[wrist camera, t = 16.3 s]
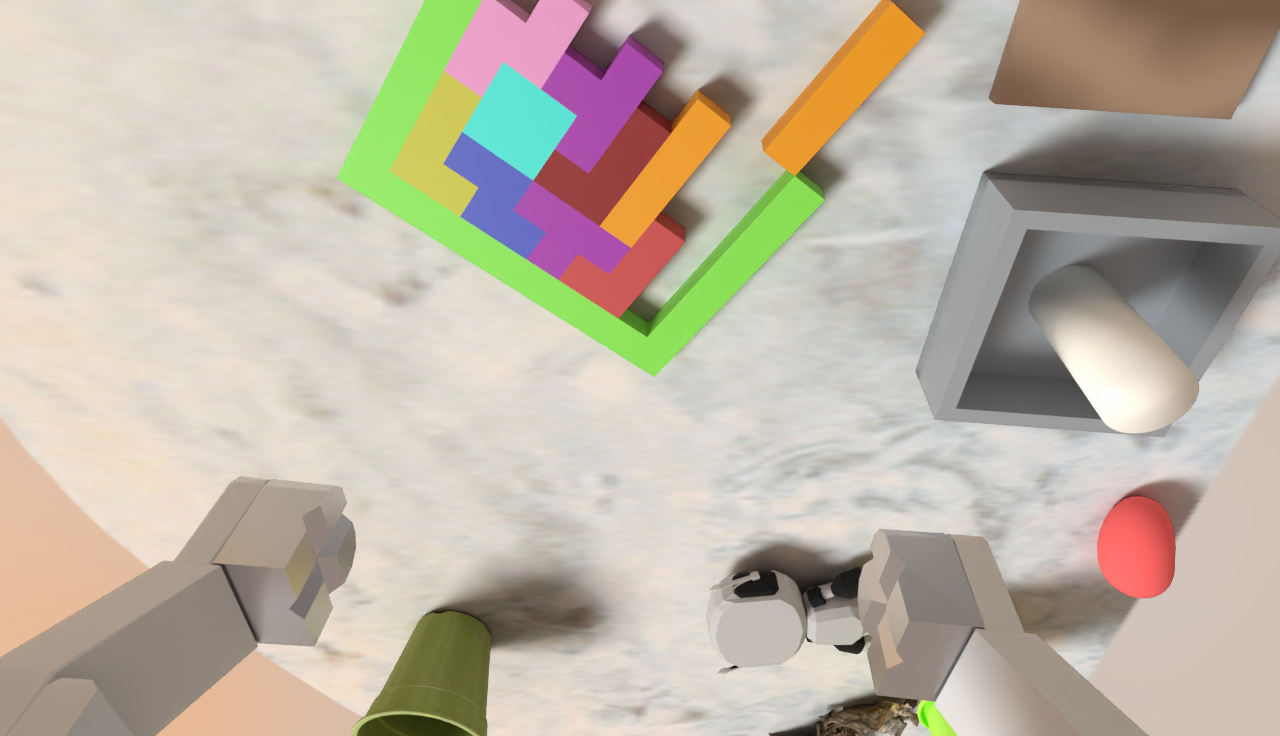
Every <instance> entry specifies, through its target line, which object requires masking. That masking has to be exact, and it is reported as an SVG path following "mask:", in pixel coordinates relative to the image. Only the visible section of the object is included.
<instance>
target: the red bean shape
mask: <svg viewBox="0 0 1280 736" xmlns="http://www.w3.org/2000/svg"><path fill="white" fill-rule="evenodd" d="M1097 549H1098V562H1099V565H1100V568H1101V570H1102V573H1103V575H1104V577H1105V578H1106V580H1107V581H1108V582H1109V583H1110V584H1111V585H1112V586H1113V587H1115V588H1116V589H1118V590H1119V591H1120V592H1122V593H1124V594H1126V595H1128V596H1131V597H1136V598H1151V597H1155V596H1157V595H1160V594H1161V593H1163V592H1164V591H1166V589H1167V588H1168V587H1169V586H1170V584H1171V582H1172V580H1173V577H1174V571H1175V550H1176V547H1175V536H1174V530H1173V526H1172V523H1171V520H1170V518H1169V515H1168V513H1167V511H1166V510H1165V509H1164V508H1163V507H1162V506H1161V505H1160V504H1159V503H1157V502H1156V501H1154V500H1152V499H1150V498H1146V497H1142V496H1133V497H1129V498H1125V499H1124V500H1122V501H1121V502H1120V503H1118V504H1117V505H1116V506H1115V507H1114V508H1113V509H1112V510H1111V511H1110V512H1109V514H1108V515H1107V517H1106V519H1105V520H1104V522H1103V525H1102V527H1101V529H1100V532H1099V538H1098V546H1097Z"/></svg>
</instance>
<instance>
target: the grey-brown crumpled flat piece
mask: <svg viewBox="0 0 1280 736" xmlns="http://www.w3.org/2000/svg"><path fill="white" fill-rule="evenodd" d="M917 702H918V700H915V699H906V701H905V702H904V705H903V704H902V705H899V704H898V703H897V702H896V703H895V702H891V701H885V700H883V701H881V702H879V703H878V704H877V705H870V706H867V705H856V706H853V707H850V708H844V709H843V710H840V712H835V711H834V710H832V711H831V712H829V713H828V714H826V715H825V716H820V717H821V718H823V719H822V720H819V721H818V723H817V724H816V725H815V726H816V731H817V736H874V735H873V733H872V731H876V732H877V731H878V732H880V733H882V734H886V733H888V734H890V735H891V736H900V735H901V733H902V732H903V730H904V728H905V727H906V726H907V723H906V722H905V723H904V721H903V719H902V717H903V718H905V717H907V716H910V717H911V722H912V723H913V724H914V725H915V726H918V723H919V718H918V714H915V713H910V711H908V712H906V710H907V709H908V708H912V709H914V708H915V706H917ZM907 707H908V708H907ZM898 709H899V710H898ZM824 720H826V721H827V722H826V721H824ZM768 735H769V736H771V735H770V734H769V733H768ZM772 736H773V735H772ZM815 736H816V735H815Z"/></svg>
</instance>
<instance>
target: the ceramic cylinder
mask: <svg viewBox="0 0 1280 736" xmlns="http://www.w3.org/2000/svg"><path fill="white" fill-rule="evenodd" d="M1028 307H1029V312H1030V314H1031V316H1032V318H1033V319H1034V321H1035V322H1036V324H1037V325H1038V326H1039V328H1040V329H1041V331H1042V332H1043V334H1044V335H1045V337H1046V338H1047V340H1048V341H1049V343H1050V344H1051V345H1052V347H1053V348H1054V350H1055V351H1056V353H1057V354H1058V356H1059V357H1060V359H1061V360H1062V362H1063V363H1064V365H1065V366H1066V367H1067V369H1068V370H1069V372H1070V373H1071V375H1072V376H1073V378H1074V379H1075V381H1076V382H1077V384H1078V385H1079V387H1080V388H1081V389H1082V391H1083V392H1084V394H1085V395H1086V397H1087V398H1088V400H1089V401H1090V403H1091V404H1092V406H1093V407H1094V409H1095V410H1096V411H1097V413H1098V414H1099V416H1100V417H1101V419H1102V420H1103V422H1104V423H1105V424H1106V425H1107V426H1108V427H1110V428H1112V429H1114V430H1116V431H1119V432H1123V433H1133V434H1135V433H1146V432H1150V431H1154V430H1157V429H1160V428H1163V427H1165V426H1167V425H1169V424H1171V423H1173V422H1175V421H1176V420H1178V419H1179V418H1181V417H1182V416H1183V415H1184V414H1185V413H1186V412H1187V411H1188V410H1189V409H1190V408H1191V407H1192V405H1193V404H1194V402H1195V401H1196V399H1197V396H1198V392H1199V383H1198V380H1197V377H1196V376H1195V375H1194V373H1193V372H1192V371H1191V370H1190V369H1189V368H1188V367H1187V366H1186V365H1185V364H1184V362H1183V361H1182V360H1181V359H1180V358H1179V357H1178V356H1177V355H1176V354H1175V353H1174V351H1173V350H1172V349H1171V348H1170V347H1169V346H1168V345H1167V344H1166V343H1165V342H1164V341H1163V339H1162V338H1161V337H1160V336H1159V335H1158V334H1157V333H1156V332H1155V331H1154V330H1153V328H1152V327H1151V326H1150V325H1149V324H1148V323H1147V322H1146V321H1145V320H1144V319H1143V317H1142V316H1141V315H1140V314H1139V313H1138V312H1137V311H1136V310H1135V309H1134V308H1133V307H1132V305H1131V304H1130V303H1129V302H1128V301H1127V300H1126V299H1125V298H1124V297H1123V296H1122V294H1121V293H1120V292H1119V291H1118V290H1117V289H1116V288H1115V287H1114V286H1113V285H1112V284H1111V282H1110V281H1109V280H1108V279H1107V278H1106V277H1105V276H1104V275H1103V274H1102V273H1101V272H1100V271H1099V270H1098V269H1096V268H1094V267H1091V266H1088V265H1069V266H1065V267H1062V268H1059V269H1057V270H1055V271H1053V272H1051V273H1049V274H1048V275H1046V276H1045V277H1044V278H1042V279H1041V280H1040V281H1039V282H1038V283H1037V285H1036V286H1035V287H1034V289H1033V290H1032V292H1031V294H1030V297H1029V302H1028Z"/></svg>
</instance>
